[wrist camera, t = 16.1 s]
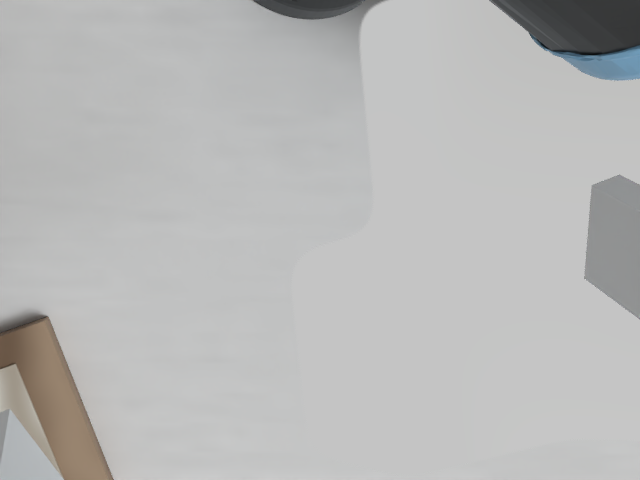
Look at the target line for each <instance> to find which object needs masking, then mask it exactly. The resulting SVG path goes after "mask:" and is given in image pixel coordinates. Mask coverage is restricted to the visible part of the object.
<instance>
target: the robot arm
mask: <svg viewBox="0 0 640 480" xmlns="http://www.w3.org/2000/svg"><path fill="white" fill-rule="evenodd" d="M254 1H256V2H257V3H259V4H261V5H262V6H264V7H266V8H268V9H270V10H272V11H275V12H277V13H280V14H283V15H286V16H290V17H294V18H300V19H324V18H330V17H334V16H337V15H341V14H343V13H346V12H348V11H350V10H352V9H354V8H355V7H357V6H358V5H360V4H361V3H363V2H364V1H365V0H254ZM490 1H491V2H492V3H493V4H494V5H496V6H497V7H498V8H499V9H501V10H502V11H503V12H504V13H506V14H507V15H508V16H509V17H511V18H512V19H513V20H514V21H515V22H517V23H518V24H519V25H520V26H522V27H523V28H524V29H525V30H527V31H528V32H529V34H530V36H531V37H532V39H533V40H534V41H535V42H536V43H537V44H538V45H539V46H540V47H541V48H543V49H544V50H546V51H549V52H551V53H552V54H553V55H556V56H559V57H562V58H563V59H564V60H566V61H567V62H569V63H570V64H571V65H573V66H574V67H576V68H578V70H580V71H581V72H583V73H585V74H588V75H590V76H593V77H597V78H600V79H605V80H633V79H639V78H640V0H490ZM584 278H585V279H586V280H587V281H589V282H590V283H591V284H593V285H594V286H595V287H597V288H598V289H599V290H601V291H602V292H604V293H605V294H606V295H608V296H609V297H610V298H612V299H613V300H614V301H616V302H617V303H618V304H620V305H621V306H623V307H624V308H625V309H627V310H628V311H629V312H631V313H632V314H633V315H635V316H636V317H637V318H639V319H640V185H639V184H637V183H635V182H633V181H631V180H629V179H627V178H625V177H623V176H621V175H617V176H615V177H612V178H610V179H607V180H604V181H602V182H599V183H597V184H594V185H592V189H591V201H590V214H589V228H588V239H587V252H586V265H585V276H584ZM0 480H64V479H63V478H62V477H61V475H60V474H59V473H58V471H57V470H56V469H55V467H54V466H53V465H52V463H51V462H50V461H49V459H48V458H47V457H46V456H45V454H44V453H43V452H42V450H41V449H40V448H39V446H38V445H37V444H36V442H35V441H34V440H33V438H32V437H31V436H30V434H29V433H28V432H27V431H26V429H25V428H24V427H23V425H22V424H21V423H20V421H19V420H18V419H17V417H16V416H15V415H14V413H13V412H12V411H11V410H10V409H8V410H5V411H3V412H0Z"/></svg>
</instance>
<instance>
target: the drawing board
mask: <svg viewBox="0 0 640 480" xmlns="http://www.w3.org/2000/svg"><path fill="white" fill-rule="evenodd" d="M8 409H10V410H11V411H12V412H13V413H14V415H15V416H16V417H17V419H18V420H19V421H20V423H21V424H22V425H23V427H24V428H25V429H26V431H27V432H28V433H29V434H30V436H31V437H32V438H33V440H34V441H35V442H36V444H37V445H38V446H39V448H40V449H41V450H42V452H43V453H44V454H45V456H46V457H47V458H48V459H49V461H50V462H51V463H52V465H53V466H54V467H55V469H56V470H57V471H58V473H59V474H60V475H61V477H62V478H63V479H64V480H113V477H112V475H111V472H110V470H109V467H108V465H107V462H106V460H105V457H104V455H103V452H102V450H101V447H100V445H99V442H98V440H97V437H96V435H95V432H94V430H93V427H92V425H91V422H90V420H89V417H88V415H87V412H86V410H85V407H84V405H83V402H82V400H81V397H80V395H79V392H78V390H77V387H76V385H75V382H74V380H73V377H72V375H71V372H70V370H69V367H68V365H67V362H66V360H65V357H64V355H63V352H62V350H61V347H60V345H59V342H58V340H57V337H56V335H55V332H54V330H53V327H52V325H51V322H50V320H49V317H45V318H42V319H39V320H36V321H34V322H31V323H28V324H25V325H22V326H19V327H16V328H14V329H11V330H8V331H5V332H2V333H0V412H3V411H5V410H8Z"/></svg>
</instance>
